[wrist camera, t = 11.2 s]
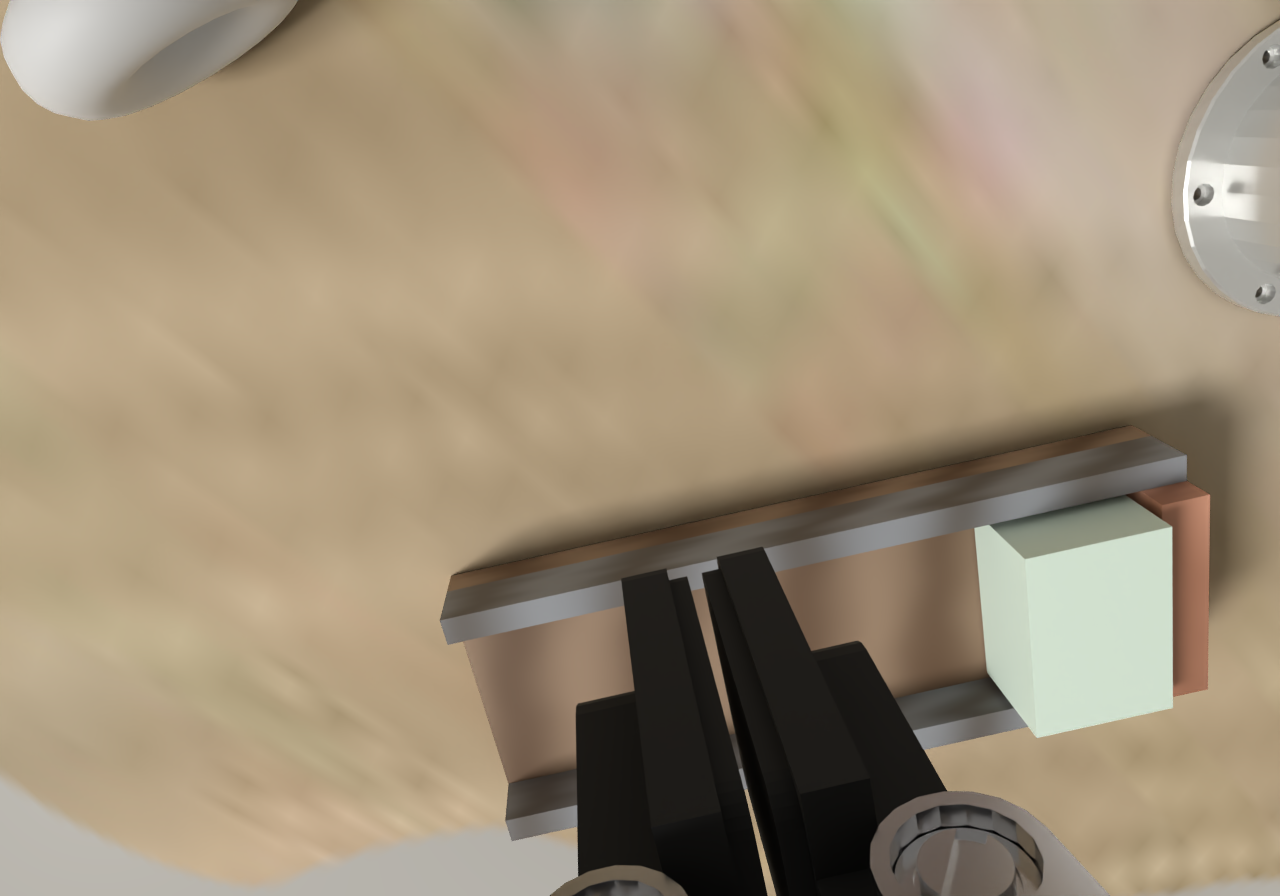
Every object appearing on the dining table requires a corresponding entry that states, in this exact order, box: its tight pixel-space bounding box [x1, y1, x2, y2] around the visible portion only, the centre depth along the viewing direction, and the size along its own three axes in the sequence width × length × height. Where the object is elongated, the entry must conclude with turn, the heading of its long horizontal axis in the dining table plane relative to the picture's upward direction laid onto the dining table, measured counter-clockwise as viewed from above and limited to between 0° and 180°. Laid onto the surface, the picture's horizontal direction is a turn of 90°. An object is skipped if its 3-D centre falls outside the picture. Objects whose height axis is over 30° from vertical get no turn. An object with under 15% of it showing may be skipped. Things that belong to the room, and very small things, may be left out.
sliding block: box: [974, 495, 1173, 738], centre depth 40 cm, size 6×9×5 cm
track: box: [440, 425, 1210, 841], centre depth 42 cm, size 32×12×6 cm, turn 102°
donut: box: [0, 0, 298, 121], centre depth 29 cm, size 10×4×10 cm, turn 121°
